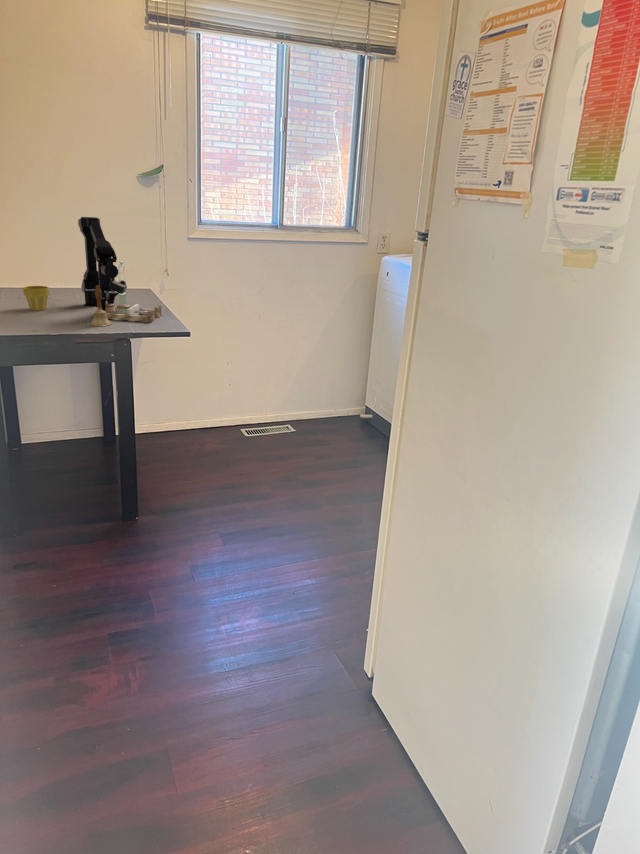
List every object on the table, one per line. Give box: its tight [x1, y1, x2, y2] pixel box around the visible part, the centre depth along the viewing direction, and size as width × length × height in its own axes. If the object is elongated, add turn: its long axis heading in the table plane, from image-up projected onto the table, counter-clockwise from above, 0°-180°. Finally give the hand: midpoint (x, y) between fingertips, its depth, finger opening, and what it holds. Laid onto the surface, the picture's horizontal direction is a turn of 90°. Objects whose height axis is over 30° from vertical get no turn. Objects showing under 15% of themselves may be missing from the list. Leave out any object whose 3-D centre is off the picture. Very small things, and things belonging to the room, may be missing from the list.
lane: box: [106, 304, 162, 323], centre depth 272 cm, size 21×16×5 cm
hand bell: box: [90, 285, 112, 327], centre depth 253 cm, size 8×8×16 cm
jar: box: [105, 302, 116, 314], centre depth 272 cm, size 6×6×5 cm
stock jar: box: [116, 303, 132, 315], centre depth 272 cm, size 6×6×5 cm
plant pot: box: [22, 285, 50, 311], centre depth 274 cm, size 10×10×10 cm
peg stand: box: [127, 303, 148, 315], centre depth 272 cm, size 7×13×4 cm, turn 178°
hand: (107, 310), depth 272 cm, fingers open, 9 cm apart
